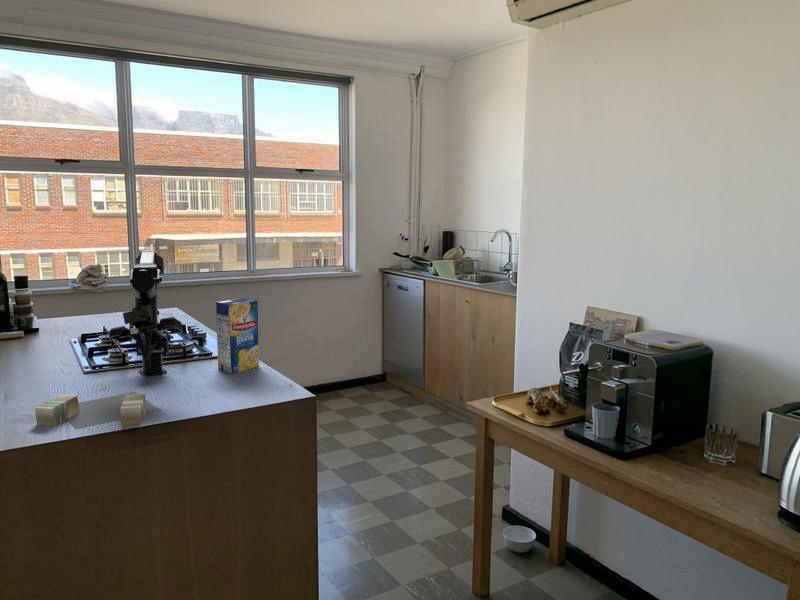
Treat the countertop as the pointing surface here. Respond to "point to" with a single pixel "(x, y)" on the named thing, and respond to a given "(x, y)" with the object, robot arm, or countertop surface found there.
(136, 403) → the post
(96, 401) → the mat
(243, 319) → the beverage box
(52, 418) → the beige striped block
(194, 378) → the countertop surface
